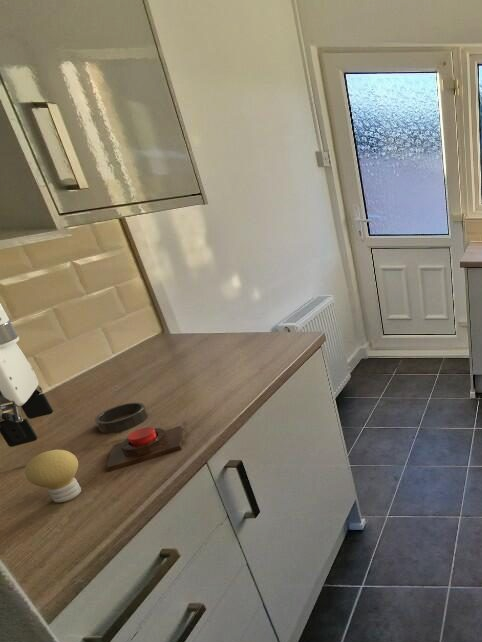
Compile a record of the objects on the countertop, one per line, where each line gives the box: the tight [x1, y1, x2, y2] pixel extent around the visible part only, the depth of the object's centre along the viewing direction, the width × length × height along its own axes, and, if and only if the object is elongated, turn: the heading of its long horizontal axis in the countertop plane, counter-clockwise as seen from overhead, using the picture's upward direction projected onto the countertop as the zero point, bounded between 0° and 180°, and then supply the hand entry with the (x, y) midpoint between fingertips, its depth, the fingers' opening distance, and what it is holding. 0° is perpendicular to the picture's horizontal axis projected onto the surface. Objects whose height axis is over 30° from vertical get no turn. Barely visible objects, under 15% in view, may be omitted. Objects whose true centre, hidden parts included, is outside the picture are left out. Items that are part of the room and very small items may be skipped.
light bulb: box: [24, 449, 82, 503], centre depth 76 cm, size 6×6×10 cm
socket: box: [94, 401, 149, 434], centre depth 97 cm, size 9×9×4 cm
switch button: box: [127, 426, 157, 446], centre depth 89 cm, size 4×4×2 cm
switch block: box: [105, 425, 184, 473], centre depth 89 cm, size 12×9×3 cm
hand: (33, 428), depth 72 cm, fingers open, 9 cm apart
